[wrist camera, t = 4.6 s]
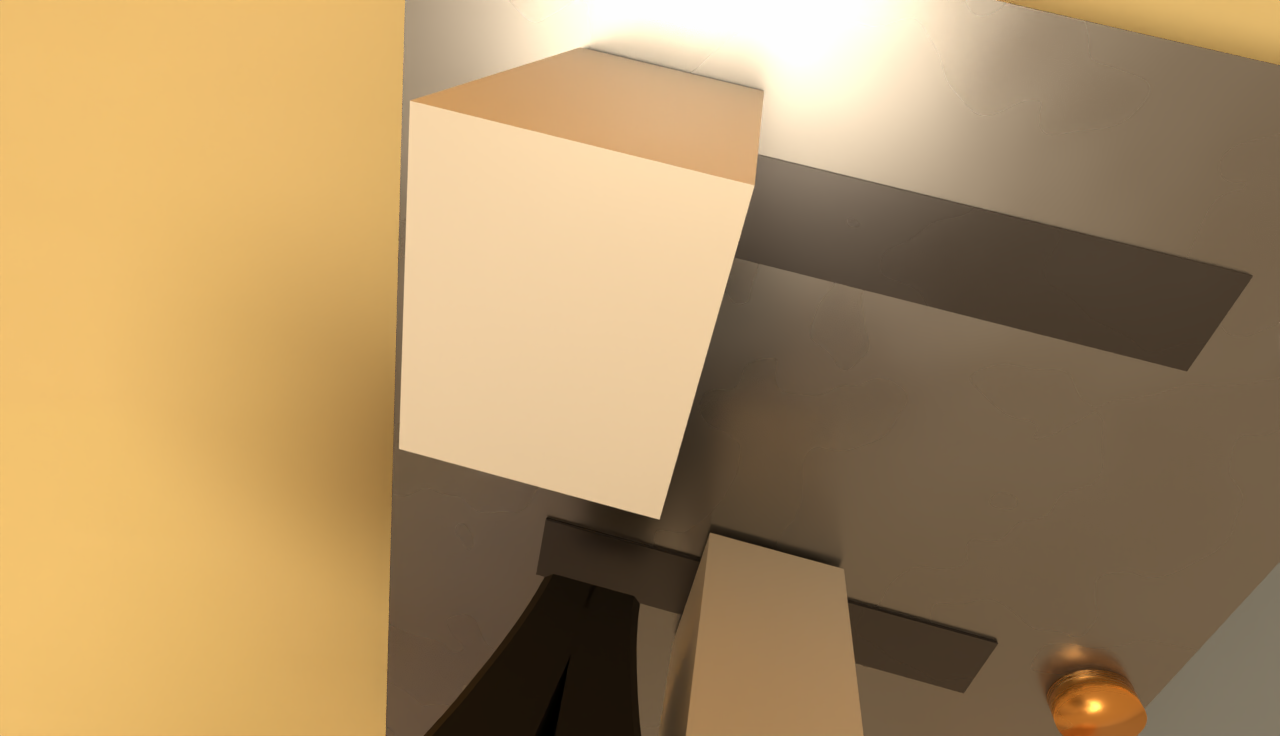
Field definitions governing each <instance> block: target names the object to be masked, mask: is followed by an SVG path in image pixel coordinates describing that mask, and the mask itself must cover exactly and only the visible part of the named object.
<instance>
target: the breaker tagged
mask: <svg viewBox="0 0 1280 736" xmlns="http://www.w3.org/2000/svg"><path fill="white" fill-rule="evenodd" d="M658 736H864V735H863V726H862V718H861V710H860V701H859V693H858V684H857V676H856V667H855V659H854V650H853V642H852V633H851V625H850V617H849V608H848V600H847V591H846V583H845V574H844V569H842V568H838V567H835V566H831V565H827V564H824V563H820V562H816V561H813V560H809V559H805V558H802V557H798V556H794V555H791V554H787V553H783V552H779V551H776V550H772V549H768V548H765V547H761V546H757V545H754V544H750V543H746V542H743V541H739V540H735V539H732V538H728V537H724V536H721V535H717V534H713V533H710V534H709V537H708V540H707V543H706V546H705V549H704V552H703V555H702V558H701V561H700V564H699V567H698V570H697V573H696V576H695V579H694V582H693V585H692V588H691V591H690V593H689V596H688V599H687V602H686V605H685V608H684V611H683V614H682V617H681V620H680V623H679V626H678V629H677V632H676V635H675V638H674V641H673V644H672V651H671V657H670V664H669V670H668V677H667V683H666V689H665V696H664V702H663V709H662V715H661V722H660V728H659V734H658Z"/></svg>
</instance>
